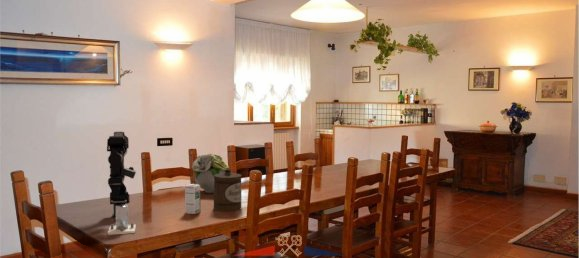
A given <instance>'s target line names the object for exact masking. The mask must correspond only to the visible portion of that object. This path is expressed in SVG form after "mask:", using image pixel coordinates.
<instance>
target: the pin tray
mask: <svg viewBox="0 0 579 258" xmlns="http://www.w3.org/2000/svg"><path fill="white" fill-rule="evenodd" d="M136 227H137V224H136V223H135V224H134V222H131V223H130V224H128V229H125V230H123V226H120V230H117V229H116V225H114V223H113V224H112V223H111V224H110V226H109V228H108V231H107V235H108V236H112V235H124V234H125V235H126V234H135V233H136Z"/></svg>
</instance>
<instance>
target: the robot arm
mask: <svg viewBox="0 0 579 258" xmlns="http://www.w3.org/2000/svg"><path fill="white" fill-rule="evenodd" d="M129 145H130V142H129V137H127V135H126V134H125V132H124V131H114V132H113V135H109V136H108V138H107V143H106V152H109V156H108V157H107V161H108V163H109V177H108V179H107V185H108V187H109V188H110V192H109V203H110V204H109V205H113V206H112V209H113V211H112V212H113V213H112V218H116V206H117V205H128V204H130V202H131V200H130V198H131V197H130V193H129V191H128V190H127V187H126V184H124V181H125V178H126V177H129V178H130V179H134V178H135V175H136V174H137V171H136V170H135V167H133V166H129V167H128V168H127V167H125V157H126V155H127V154H128V149H129V147H130V146H129Z"/></svg>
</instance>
